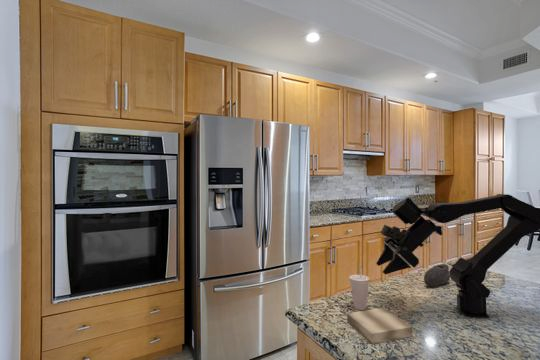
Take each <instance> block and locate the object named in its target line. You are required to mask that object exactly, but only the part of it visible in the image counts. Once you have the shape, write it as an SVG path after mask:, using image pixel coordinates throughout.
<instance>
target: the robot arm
mask: <svg viewBox="0 0 540 360" xmlns="http://www.w3.org/2000/svg"><path fill="white" fill-rule="evenodd" d="M499 209H500V210H502V211H503V212H504V213H505V214H507V215H509V216H508V218H507V221H506V225H505V226H504V228H502V230H500V231H499V232H498V233H497V234H496V235H495V236H494V237H493V238H492V239H490V240H489V241H488V242H487V243H486V244H485V245H484V246H483V247H482V248H481V249H480V250H479V251H477V252H476V253H475V254H474V255H473V256H472V257H471V258H468V259H465V258H463V257H460V258H458V259H457V261H456V262H455V263H453V264H451V265H450V266H451V268H450V269H449V273H450V278H449V279H451V281H452V282H454V283H455V285H456V288H458V294H456V308H457V309H458V310H459V311H460V312H461V313H462V314H463V316H465V317H474V318H476V317H477V318H490V315H489V314H488V313H487V298H489V297H490V294H491V290H490V289H489V288H488V287H487V286H485V284H483V282H484V281H485V278H486V275H487V271H488V270H489V269H490V268H491V267H492V266H493V265H494V264H495V263H496V262H497V261H499V260H500V259H501V258H502V257H503V256H504V255H505V254H506V253H507V252H508V251H510V250H511V249H512V248H513V247H514V246H515V245H516V244H517V243H518V242H519V241H521V239H523V238H524V237H526V236H529V235H531V234H534V233H537V232H539V231H540V207H535V206H534V205H532V204H529V203H527V202H525V201H522V200H520V199H519V198H516V197H515V196H513V195H512V194H509V193H508V194H506V193H505V194H503V193H498V194H495V195H492V196H491V195H490V196H486V197H481V198H476V199H470V200H465V201H460V202H433V203H430V204H429V205H428V206H427V207H426V206H425V207H420V206H418V205H417V204H416V203H415V202H414V200H412V199H411V198H410V197H405V198H404V199H402V200H401V201H399V202H398V203H396V204H395V205H394V206H393V207H392V209H391V213H392V214H393V215H394V216H396V217H397V219H399V220H400V221H401V222H402V223H403V224H404V225H408V224H409V225H410V226H409V227H408V228H407V229H405V228H404V229H400V228H399V227H397V226H396V225H395V226H392V227H391V226H390V225H389V226H388V225H387V224H384V225H383V226H382V229H381V231H380V234H381V235H382V236H384V237H385V238H384V239H383V243H382V244H383V251H382V253H381V254H380V256H379V257H378V259H377V261H376V265H377V266H378V267H379V266H382V265H385V264H386V263H387V265H386V266H385V267H384V268H383V270H382V273H383V274H384V275H388V274H393V273H394V272H398V271H399V272H400V271H402V270H406V269H412V268H415V269H416V268H417V266H418V265H419V264H420V259H419V257H417V256H416V255H415V254H414V252H415V251H416V250H417V249H418V247H420V248H422V247H423V246H424V244H423V243H424V242H425V241H427V239H428V238H429V237H430V236H431V235H433V234H434V233H435V234H436V235H438V236H443V229H442V228H443V227H442V225H436V223H434V222H437V223H440V224H447V223H450V222H453V221H455V220H458V219H460V218H461V217H463V216H467V215H473V214H479V213H483V212H490V211H495V210H499ZM424 217H426V218H427V219H426V218H424ZM433 221H434V222H433Z"/></svg>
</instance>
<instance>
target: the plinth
mask: <svg viewBox="0 0 540 360" xmlns="http://www.w3.org/2000/svg"><path fill="white" fill-rule="evenodd" d="M346 314H347V315H346V317H347V319H346V321H347V323H348V324H349V325H350V326H351V327H352V328H353V329H355V330H356V332H358V333H359V334H360V335H362V336H363V337H364V338H365V339H366V340H367V341H368V342H369V343H371V344H372V345H374V344H381V343H385V342H390V341H396V340H402V339H405V338H411V337H413V326H412V325H411V324H408V323H407V322H405V321H404V320H402V319H401V318H400V317H397V316H396V315H395V314H393V313H392V312H391V311H388V310H387V309H385V308H384V307H380V308H374V309H368V310H367V309H365V310H358V311H353V312H348V313H346Z"/></svg>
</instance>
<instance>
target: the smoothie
mask: <svg viewBox="0 0 540 360" xmlns="http://www.w3.org/2000/svg"><path fill="white" fill-rule="evenodd" d="M362 267H363V266H362V263H359V274H351V275H349V277H348V280H349V281H350V282H349V281H348V282H349V283H350V288H351V294H352V295H351V296H352V302H353V307H354V309H355V310H357V309H358V311H365V310H367V302H368V294H369V293H368V291H369V283H370V277H369V276H367V275H364V274H363V270H362Z"/></svg>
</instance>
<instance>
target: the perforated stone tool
mask: <svg viewBox="0 0 540 360" xmlns="http://www.w3.org/2000/svg"><path fill="white" fill-rule="evenodd" d="M450 279H451V278H450V269H449V265H448V264H445V263H442V264H441V263H440V264H437V265H434V266H433V267H430V268H429V269H428V270H426V272H425V274H424V276H423V281H424V284H425V285H426V286H427V287H437V286H441V285H442V286H443V285H444V284H446V283H448V282H449V281H450Z"/></svg>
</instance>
